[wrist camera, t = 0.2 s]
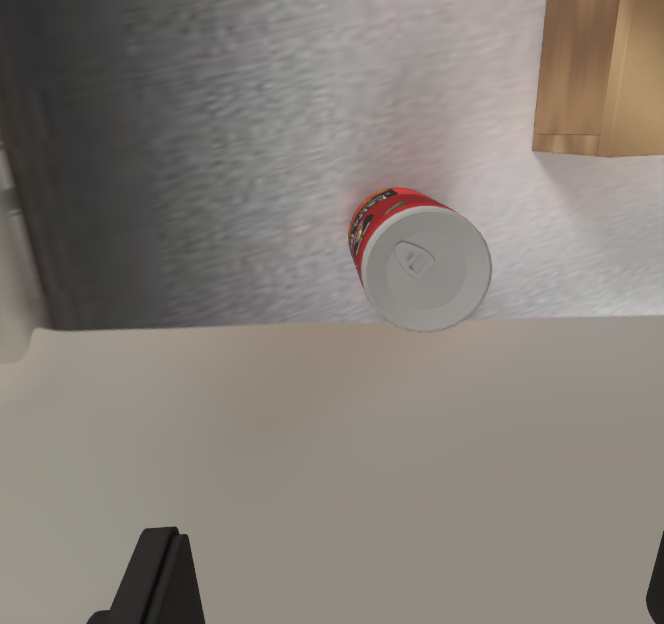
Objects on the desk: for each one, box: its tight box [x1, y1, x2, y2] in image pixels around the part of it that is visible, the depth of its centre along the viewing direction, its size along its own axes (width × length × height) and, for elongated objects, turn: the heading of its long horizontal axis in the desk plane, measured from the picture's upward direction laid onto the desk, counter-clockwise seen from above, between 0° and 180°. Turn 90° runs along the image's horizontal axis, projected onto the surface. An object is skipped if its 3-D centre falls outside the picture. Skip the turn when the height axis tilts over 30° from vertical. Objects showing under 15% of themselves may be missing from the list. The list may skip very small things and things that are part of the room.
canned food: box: [348, 188, 492, 333], centre depth 33 cm, size 8×8×11 cm
